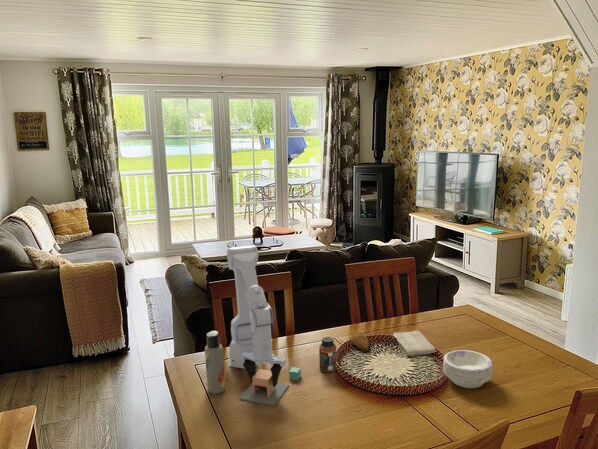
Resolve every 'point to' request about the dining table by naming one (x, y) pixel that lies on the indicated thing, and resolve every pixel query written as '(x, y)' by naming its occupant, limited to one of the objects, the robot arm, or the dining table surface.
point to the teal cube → (295, 373)
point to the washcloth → (413, 343)
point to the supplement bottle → (327, 355)
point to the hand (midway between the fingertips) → (264, 383)
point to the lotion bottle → (214, 363)
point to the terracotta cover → (263, 381)
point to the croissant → (360, 341)
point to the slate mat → (264, 394)
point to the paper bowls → (467, 368)
